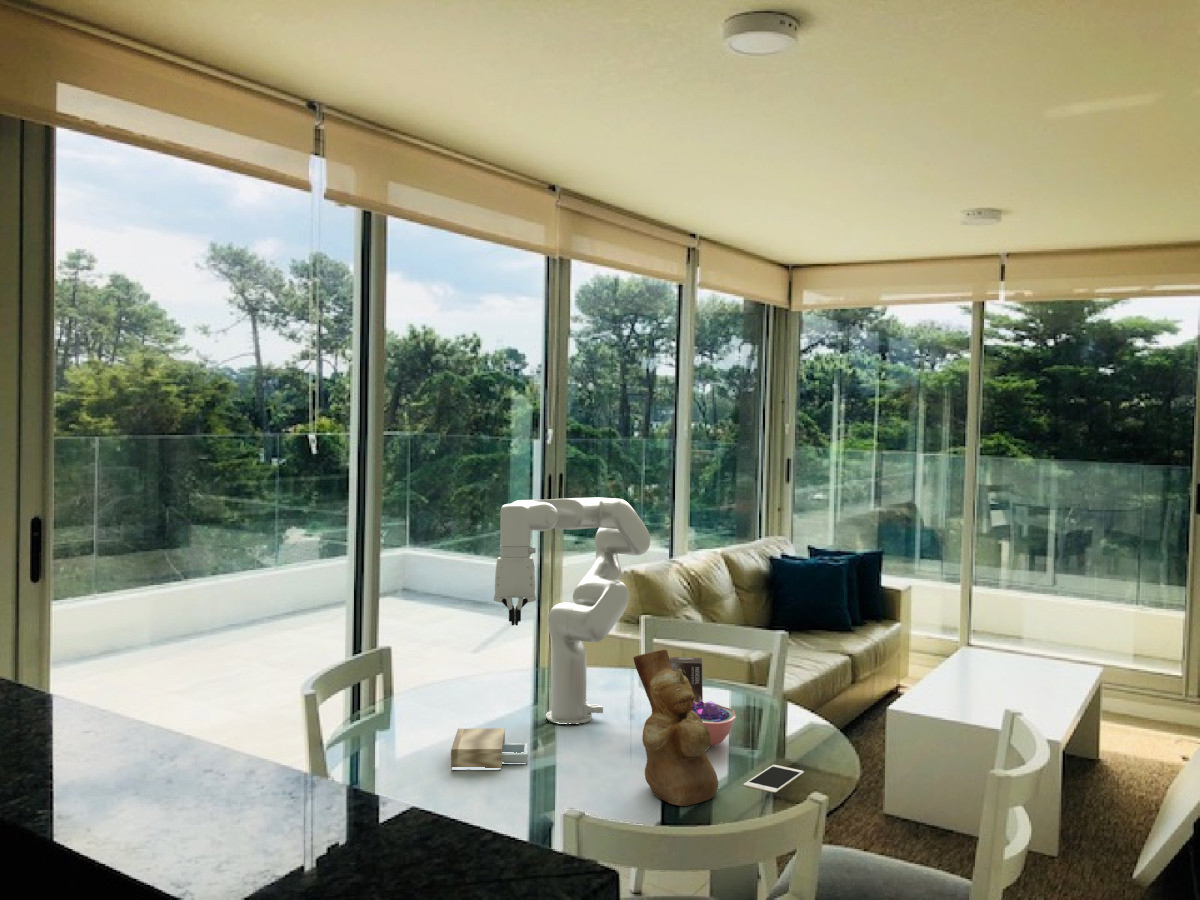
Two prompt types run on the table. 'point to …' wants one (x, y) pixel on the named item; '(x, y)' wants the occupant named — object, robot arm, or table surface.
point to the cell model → (715, 720)
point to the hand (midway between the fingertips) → (514, 624)
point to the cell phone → (773, 778)
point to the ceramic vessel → (674, 735)
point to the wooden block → (478, 748)
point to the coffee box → (690, 673)
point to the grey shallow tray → (515, 756)
